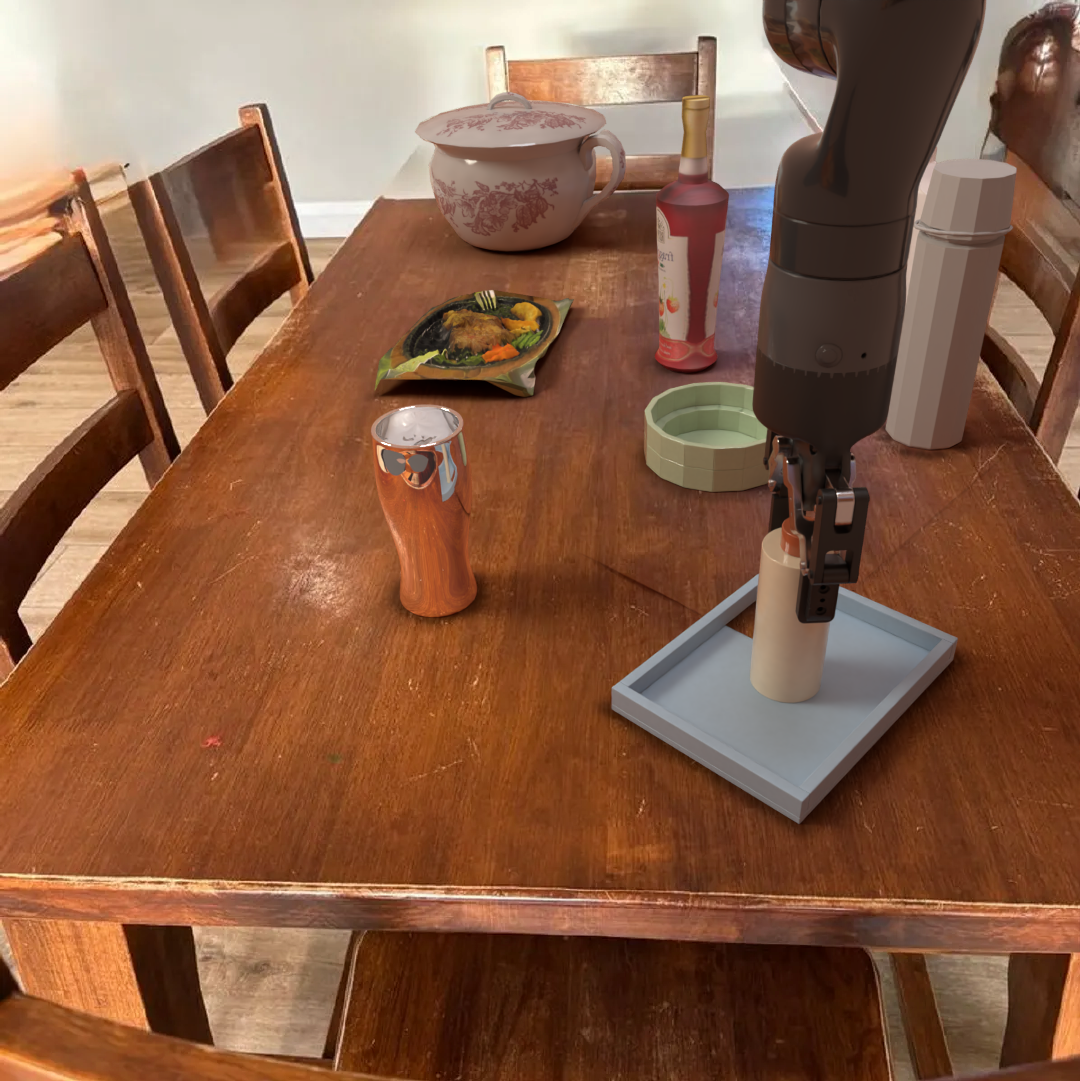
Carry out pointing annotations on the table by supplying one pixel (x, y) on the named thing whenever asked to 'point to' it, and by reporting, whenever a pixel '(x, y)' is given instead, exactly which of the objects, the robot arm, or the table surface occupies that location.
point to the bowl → (706, 437)
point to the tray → (777, 727)
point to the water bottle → (949, 300)
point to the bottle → (784, 626)
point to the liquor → (690, 250)
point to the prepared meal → (478, 340)
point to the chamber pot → (518, 170)
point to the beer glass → (427, 504)
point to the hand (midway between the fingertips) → (798, 578)
